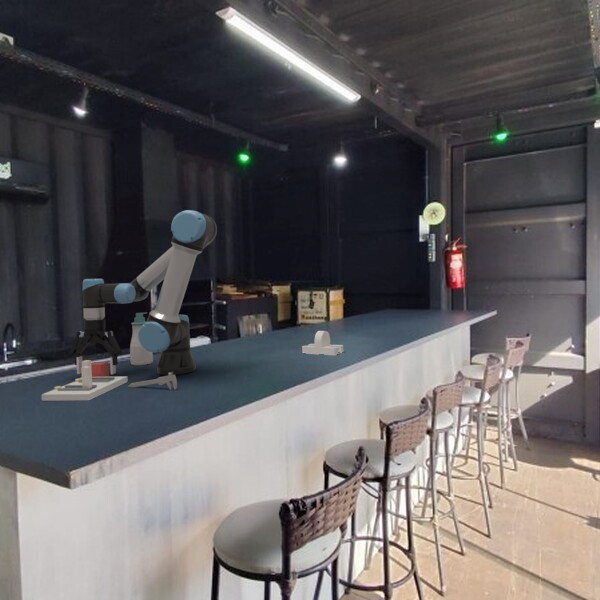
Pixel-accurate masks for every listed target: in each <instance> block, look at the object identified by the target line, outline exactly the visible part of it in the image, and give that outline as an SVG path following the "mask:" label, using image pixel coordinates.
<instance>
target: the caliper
mask: <svg viewBox="0 0 600 600" xmlns="http://www.w3.org/2000/svg"><path fill="white" fill-rule="evenodd" d="M156 384H158V386H162V385H165V384H166V385H167V387H168V388H169V390H170V391H172V390H174V391H175V390H177V389H178V380H177V377H176V375H174V374H173V372H171V373H170V372H169V373H168V375H164V376H159V377H157V378H155V379H154V378H153V379H149V380H142V381H136V382H132V383H129V385H127V388H128V387H130V388H137V387H143V386H149V385H156Z"/></svg>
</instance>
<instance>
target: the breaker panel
mask: <svg viewBox="0 0 600 600" xmlns="http://www.w3.org/2000/svg"><path fill="white" fill-rule="evenodd" d="M128 380H129V379H128V376H109V377H92V388H82V376H81V377H79V378H75V381H72V382H70V383H67V384H65V385H62V386H61V385H57V386H54V387H53V388H54V389H52V390H49V391H47V392H44V393H42V394H41V401H42V402H44V401H50V402H51V401H61V402H62V401H64V402H65V401H68V402H69V401H70V402H71V401H74V402H75V401H78V402H79V401H90V400H93V399H94V398H97V397H100V396H101V395H103V394H105V393H107V392H110V391H112V390H113V389H116V388H118V387H120V386H123V385H124V384H125V383H128V382H129V381H128Z"/></svg>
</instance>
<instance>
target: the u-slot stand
mask: <svg viewBox="0 0 600 600" xmlns="http://www.w3.org/2000/svg"><path fill="white" fill-rule="evenodd" d="M313 341H314V343H309V344H307V345H302V347H301V348H302V349H301V350H302V354H303V353H306V355H319V354H324V356H338V355H339V354H343V353H344V345H343V344H331V336H330V333H329V331H328V330H318V331H317V332H315V335H314V340H313ZM338 352H340V353H338ZM342 352H343V353H342ZM337 354H338V355H337Z"/></svg>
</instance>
